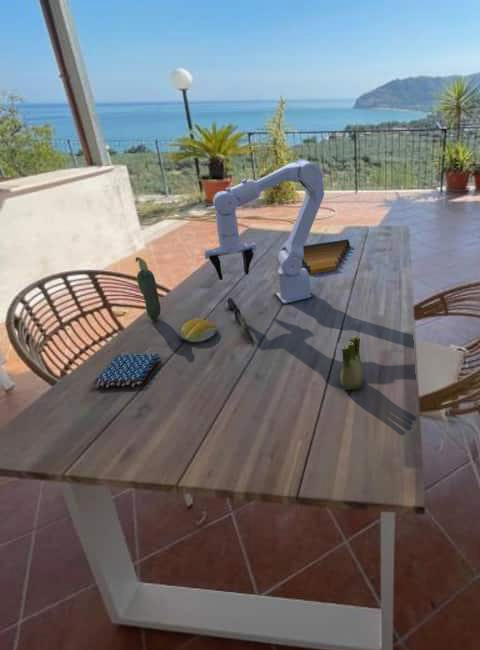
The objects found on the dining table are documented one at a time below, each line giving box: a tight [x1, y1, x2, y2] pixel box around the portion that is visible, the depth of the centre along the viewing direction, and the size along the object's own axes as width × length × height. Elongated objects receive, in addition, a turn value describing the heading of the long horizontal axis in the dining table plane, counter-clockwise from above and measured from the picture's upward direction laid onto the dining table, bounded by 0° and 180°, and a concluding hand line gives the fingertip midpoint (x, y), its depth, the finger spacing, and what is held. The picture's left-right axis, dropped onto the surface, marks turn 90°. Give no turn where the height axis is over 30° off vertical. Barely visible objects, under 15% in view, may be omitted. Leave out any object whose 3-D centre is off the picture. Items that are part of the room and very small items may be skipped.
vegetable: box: [135, 256, 161, 322], centre depth 109 cm, size 4×4×20 cm
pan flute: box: [302, 238, 351, 275], centre depth 158 cm, size 25×3×25 cm
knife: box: [227, 297, 252, 342], centre depth 111 cm, size 23×2×5 cm, turn 30°
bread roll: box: [180, 318, 217, 343], centre depth 105 cm, size 8×9×4 cm
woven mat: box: [93, 352, 161, 389], centre depth 91 cm, size 10×11×2 cm
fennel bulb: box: [339, 335, 364, 391], centre depth 85 cm, size 6×5×12 cm
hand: (233, 276), depth 117 cm, fingers open, 7 cm apart
